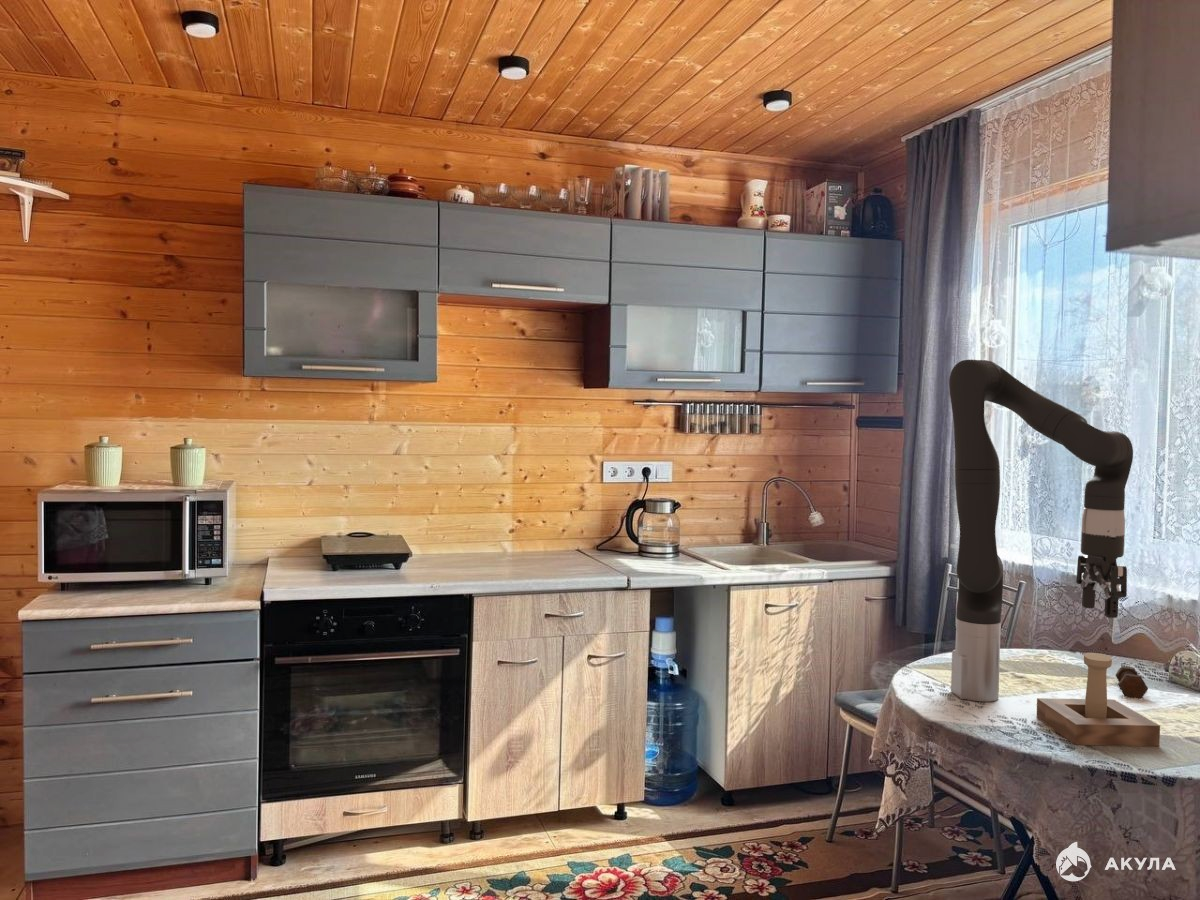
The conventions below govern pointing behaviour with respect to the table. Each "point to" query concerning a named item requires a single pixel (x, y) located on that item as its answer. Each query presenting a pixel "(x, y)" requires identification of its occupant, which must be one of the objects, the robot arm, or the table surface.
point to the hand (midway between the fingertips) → (1099, 612)
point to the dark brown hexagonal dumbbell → (1131, 683)
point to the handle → (1096, 684)
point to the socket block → (1098, 723)
